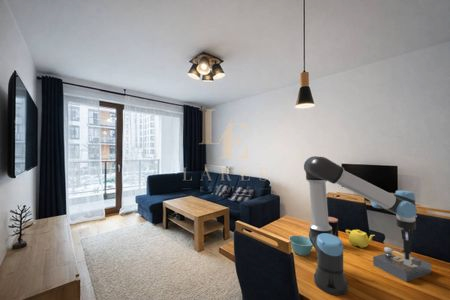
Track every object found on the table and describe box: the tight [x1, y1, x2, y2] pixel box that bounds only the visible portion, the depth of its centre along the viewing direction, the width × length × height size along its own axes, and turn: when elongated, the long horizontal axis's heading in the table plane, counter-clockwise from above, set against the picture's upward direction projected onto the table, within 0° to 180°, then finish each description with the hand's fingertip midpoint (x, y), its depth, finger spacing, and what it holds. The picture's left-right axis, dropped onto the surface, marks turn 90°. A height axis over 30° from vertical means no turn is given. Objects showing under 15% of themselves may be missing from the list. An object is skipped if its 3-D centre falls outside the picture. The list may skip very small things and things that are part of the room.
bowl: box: [288, 235, 314, 257], centre depth 130 cm, size 16×16×8 cm
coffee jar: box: [328, 216, 339, 238], centre depth 142 cm, size 11×11×18 cm
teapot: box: [345, 229, 376, 249], centre depth 138 cm, size 18×11×11 cm, turn 38°
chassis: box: [372, 249, 432, 283], centre depth 110 cm, size 22×16×6 cm
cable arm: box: [383, 246, 422, 266], centre depth 110 cm, size 4×17×2 cm, turn 20°
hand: (407, 264), depth 102 cm, fingers closed
